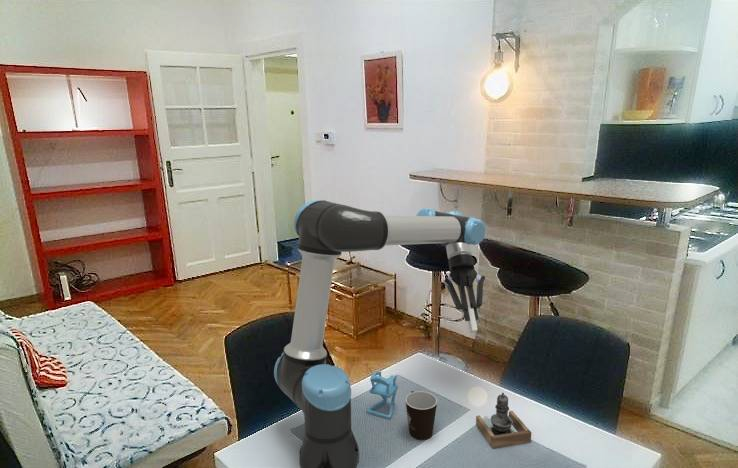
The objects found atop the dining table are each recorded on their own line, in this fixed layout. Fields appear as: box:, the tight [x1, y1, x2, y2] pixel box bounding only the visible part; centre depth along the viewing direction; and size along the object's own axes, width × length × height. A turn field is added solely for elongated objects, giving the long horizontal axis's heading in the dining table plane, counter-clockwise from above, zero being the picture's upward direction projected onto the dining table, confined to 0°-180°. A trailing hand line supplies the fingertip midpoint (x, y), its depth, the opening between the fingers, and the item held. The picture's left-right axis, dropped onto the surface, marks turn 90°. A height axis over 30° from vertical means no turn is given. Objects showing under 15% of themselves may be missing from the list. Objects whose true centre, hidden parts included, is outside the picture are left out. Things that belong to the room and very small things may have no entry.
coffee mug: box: [404, 390, 438, 441], centre depth 125 cm, size 12×9×10 cm
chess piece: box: [490, 392, 513, 435], centre depth 123 cm, size 6×6×12 cm
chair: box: [366, 370, 399, 421], centre depth 134 cm, size 8×8×12 cm
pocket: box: [475, 410, 532, 450], centre depth 123 cm, size 10×11×3 cm
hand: (473, 331), depth 132 cm, fingers closed
